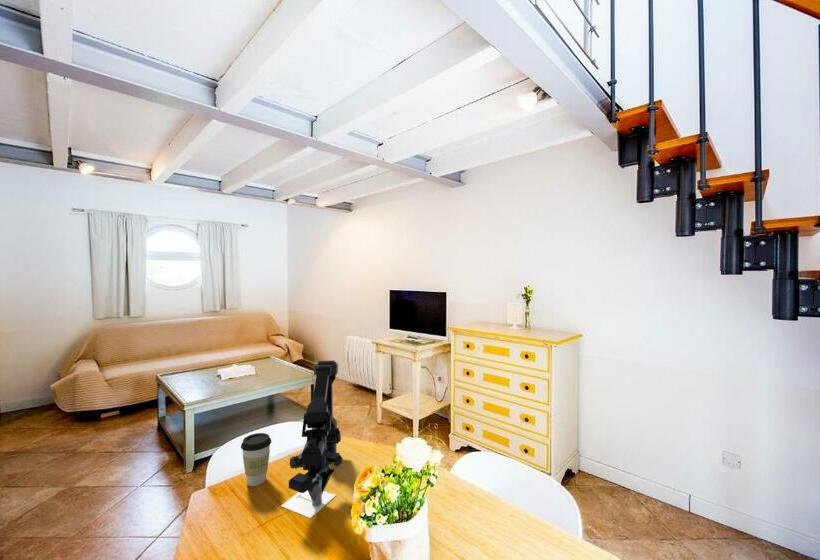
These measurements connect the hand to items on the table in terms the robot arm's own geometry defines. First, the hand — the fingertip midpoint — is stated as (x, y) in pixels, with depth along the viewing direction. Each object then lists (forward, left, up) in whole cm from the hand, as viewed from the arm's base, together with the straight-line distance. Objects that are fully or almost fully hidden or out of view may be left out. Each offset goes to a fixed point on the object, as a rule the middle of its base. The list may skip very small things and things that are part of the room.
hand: (316, 497), depth 112 cm
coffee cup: (0, -27, -2) cm, 28 cm away
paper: (0, -3, -2) cm, 4 cm away
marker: (0, 0, -2) cm, 2 cm away
